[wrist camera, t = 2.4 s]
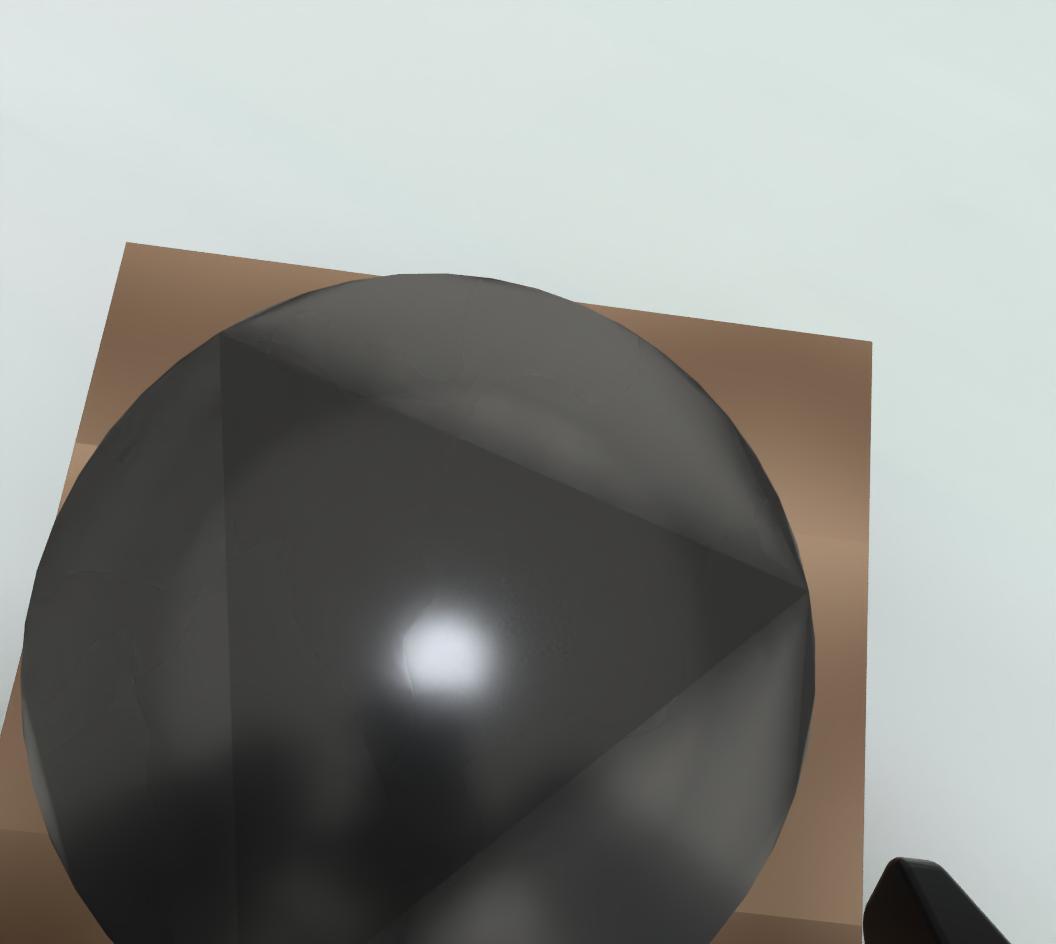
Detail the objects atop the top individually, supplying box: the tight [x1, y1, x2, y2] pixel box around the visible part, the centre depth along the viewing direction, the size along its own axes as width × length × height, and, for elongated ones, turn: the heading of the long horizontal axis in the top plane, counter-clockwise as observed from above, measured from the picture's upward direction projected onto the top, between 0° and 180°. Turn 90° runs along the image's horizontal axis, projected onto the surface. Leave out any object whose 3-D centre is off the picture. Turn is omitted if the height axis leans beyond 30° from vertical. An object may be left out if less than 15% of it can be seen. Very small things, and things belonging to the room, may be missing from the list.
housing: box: [0, 242, 872, 944], centre depth 16 cm, size 13×13×4 cm
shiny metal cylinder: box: [20, 274, 815, 944], centre depth 12 cm, size 5×5×12 cm
